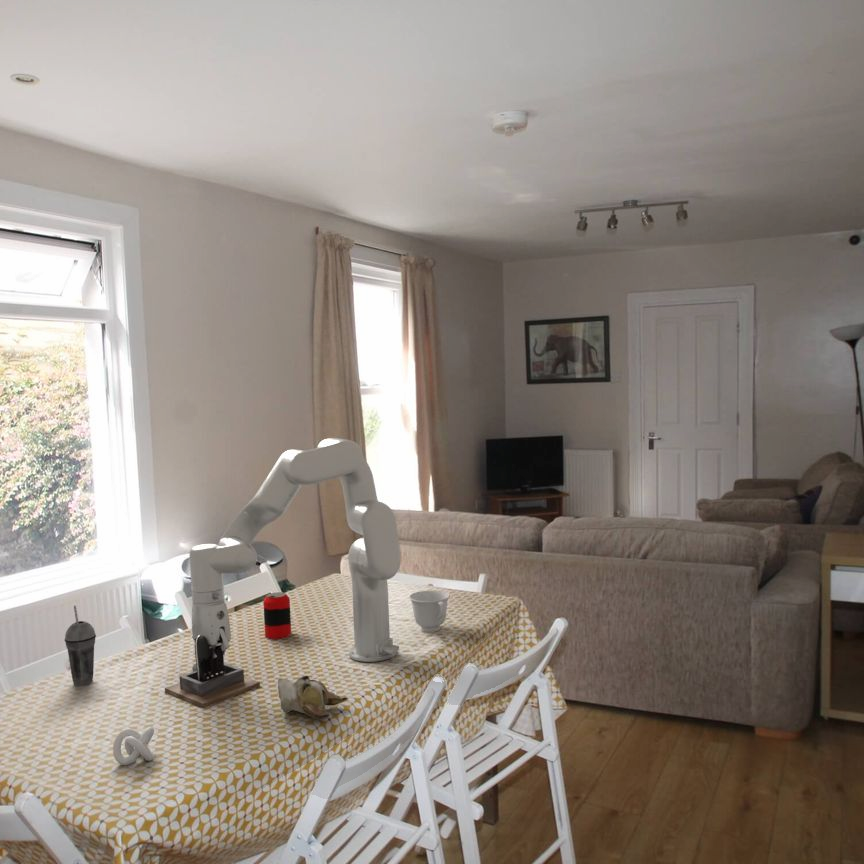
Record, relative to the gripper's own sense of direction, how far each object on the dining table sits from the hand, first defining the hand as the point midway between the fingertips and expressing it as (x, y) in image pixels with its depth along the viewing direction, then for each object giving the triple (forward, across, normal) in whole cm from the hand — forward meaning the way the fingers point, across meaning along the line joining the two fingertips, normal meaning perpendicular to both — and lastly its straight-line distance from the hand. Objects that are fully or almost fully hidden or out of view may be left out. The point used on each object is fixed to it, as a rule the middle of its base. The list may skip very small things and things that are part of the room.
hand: (212, 669), depth 192 cm
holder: (+5, 0, 0) cm, 5 cm away
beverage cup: (+5, +31, +17) cm, 36 cm away
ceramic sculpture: (+5, -30, -5) cm, 31 cm away
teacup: (+5, -15, -65) cm, 67 cm away
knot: (+5, -19, +30) cm, 36 cm away
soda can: (+5, +20, -36) cm, 41 cm away
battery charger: (+2, 0, 0) cm, 2 cm away
